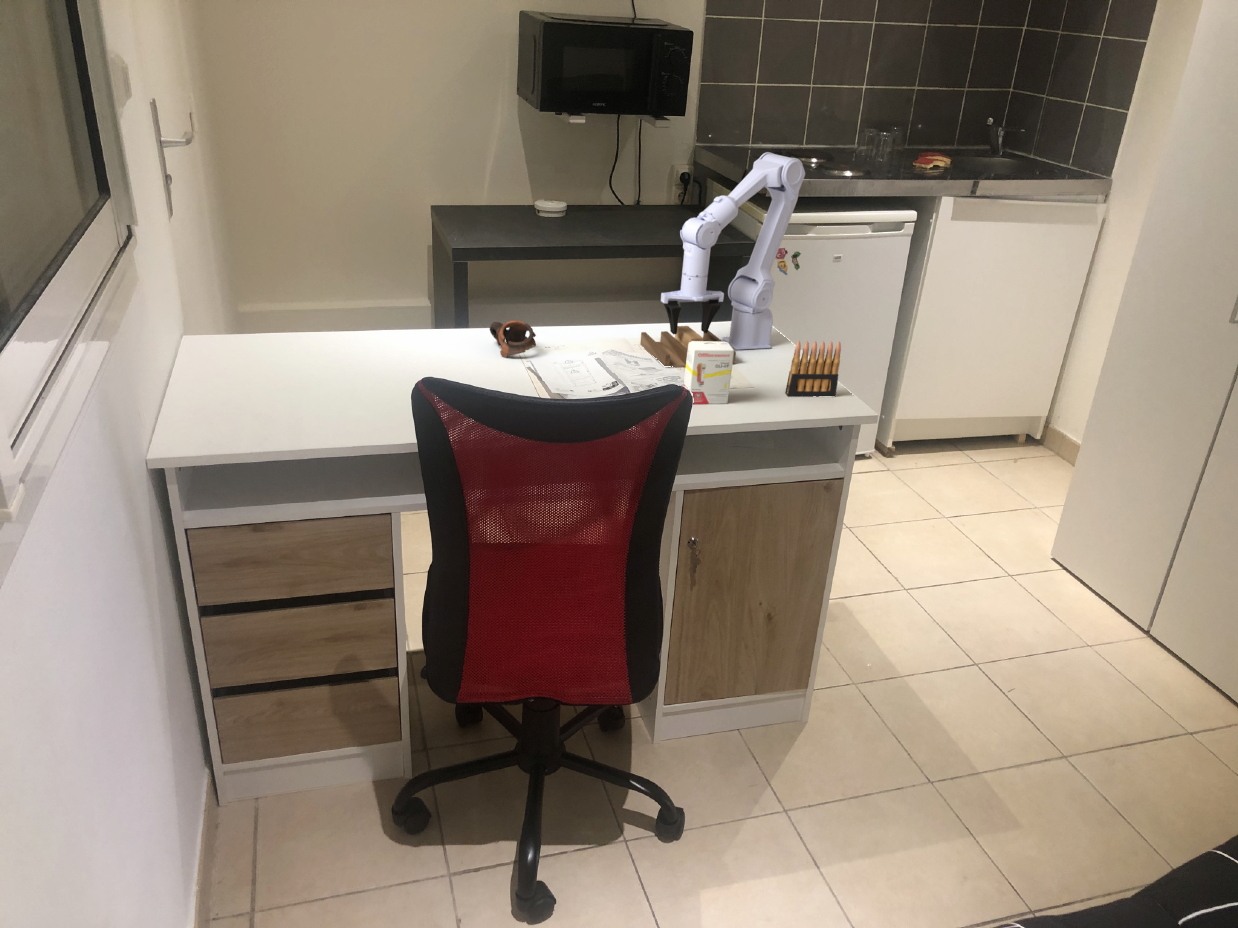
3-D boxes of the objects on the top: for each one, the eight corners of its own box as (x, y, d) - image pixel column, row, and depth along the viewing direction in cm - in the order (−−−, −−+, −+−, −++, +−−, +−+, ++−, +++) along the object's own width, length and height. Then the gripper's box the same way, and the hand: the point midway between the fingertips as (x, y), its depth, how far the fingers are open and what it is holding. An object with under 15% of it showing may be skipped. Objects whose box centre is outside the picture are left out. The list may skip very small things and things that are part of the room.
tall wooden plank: (685, 346, 223) (687, 325, 221) (701, 359, 216) (703, 338, 213) (673, 346, 222) (675, 326, 220) (688, 359, 215) (691, 338, 212)
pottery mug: (544, 351, 216) (544, 327, 210) (521, 378, 211) (521, 354, 205) (499, 329, 219) (499, 304, 212) (476, 355, 214) (475, 331, 207)
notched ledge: (706, 341, 229) (707, 329, 228) (734, 364, 215) (735, 351, 214) (640, 344, 224) (641, 332, 222) (664, 368, 210) (665, 355, 209)
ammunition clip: (832, 393, 203) (842, 340, 198) (835, 396, 201) (845, 343, 196) (784, 393, 201) (793, 339, 196) (787, 396, 200) (796, 342, 194)
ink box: (687, 404, 191) (693, 349, 186) (681, 395, 196) (687, 341, 191) (728, 404, 193) (735, 349, 188) (721, 395, 198) (728, 341, 192)
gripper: (671, 279, 206) (665, 339, 212) (732, 278, 210) (724, 336, 216) (659, 271, 212) (654, 329, 217) (719, 269, 216) (712, 327, 222)
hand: (688, 332), depth 217 cm, fingers open, 7 cm apart
